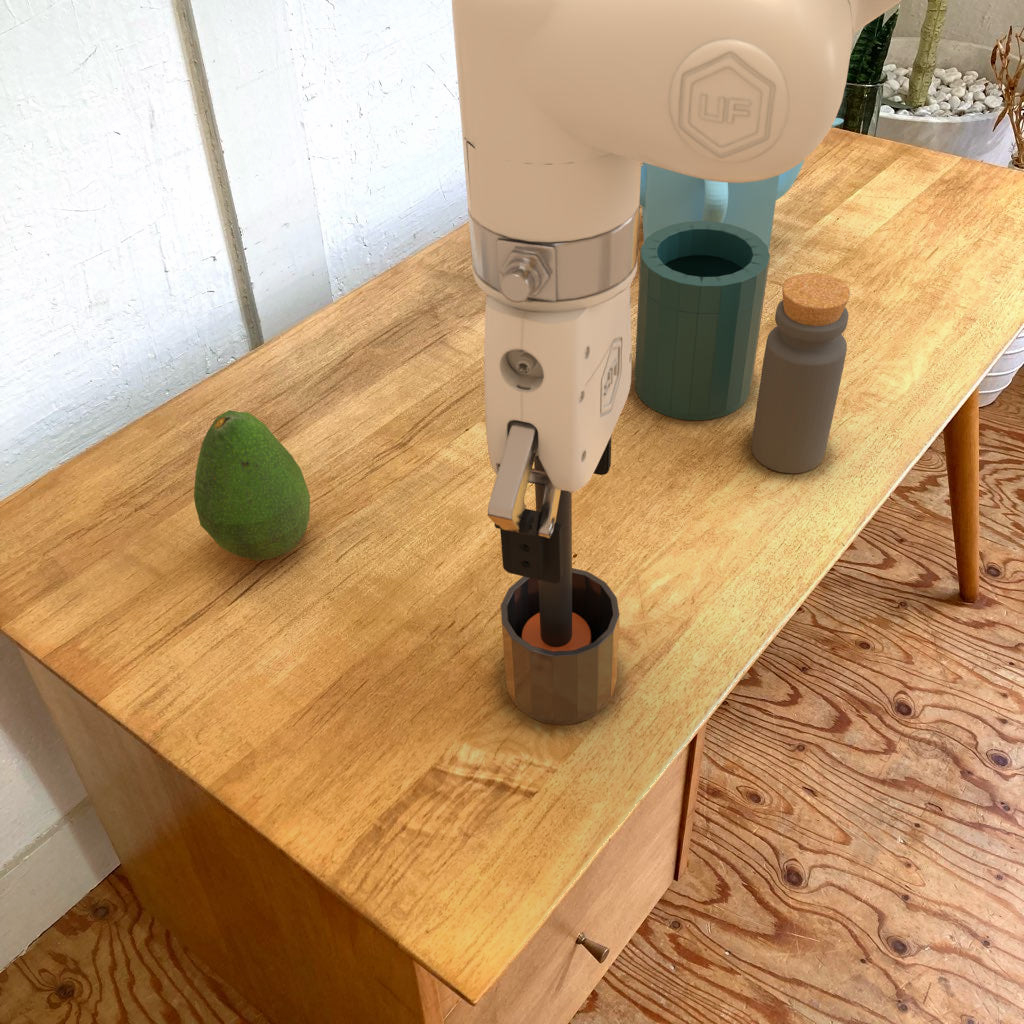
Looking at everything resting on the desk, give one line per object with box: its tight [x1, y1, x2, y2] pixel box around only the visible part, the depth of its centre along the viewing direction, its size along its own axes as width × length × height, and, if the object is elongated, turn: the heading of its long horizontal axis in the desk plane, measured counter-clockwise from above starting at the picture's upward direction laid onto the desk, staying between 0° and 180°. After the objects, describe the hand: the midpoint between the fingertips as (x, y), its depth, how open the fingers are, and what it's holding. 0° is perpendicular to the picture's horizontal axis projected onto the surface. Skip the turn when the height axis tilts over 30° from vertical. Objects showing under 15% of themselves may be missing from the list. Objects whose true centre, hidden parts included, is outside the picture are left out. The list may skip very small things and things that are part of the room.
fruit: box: [193, 409, 311, 562], centre depth 75 cm, size 8×8×12 cm
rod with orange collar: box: [522, 456, 591, 651], centre depth 62 cm, size 4×4×19 cm
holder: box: [500, 567, 620, 726], centre depth 67 cm, size 7×7×7 cm
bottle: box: [750, 272, 851, 474], centre depth 80 cm, size 6×6×15 cm
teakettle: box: [640, 117, 845, 251], centre depth 104 cm, size 19×19×15 cm
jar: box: [634, 221, 771, 421], centre depth 87 cm, size 10×10×13 cm
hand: (559, 517), depth 59 cm, fingers open, 8 cm apart
